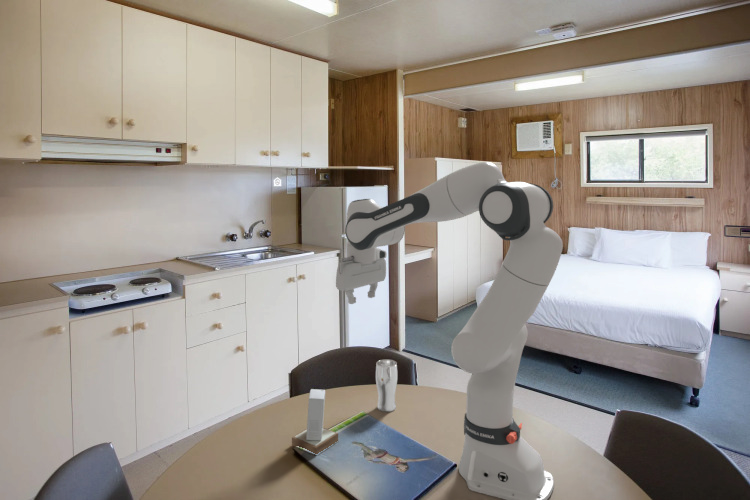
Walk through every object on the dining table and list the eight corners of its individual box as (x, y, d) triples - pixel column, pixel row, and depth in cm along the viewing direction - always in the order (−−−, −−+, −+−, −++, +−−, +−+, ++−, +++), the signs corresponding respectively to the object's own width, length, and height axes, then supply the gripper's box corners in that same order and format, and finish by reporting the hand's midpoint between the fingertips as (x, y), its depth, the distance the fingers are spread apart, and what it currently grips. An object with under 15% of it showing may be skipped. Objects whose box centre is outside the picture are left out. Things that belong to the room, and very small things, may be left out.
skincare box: (307, 428, 132) (310, 388, 130) (322, 429, 132) (325, 389, 131) (305, 440, 126) (308, 398, 124) (321, 441, 126) (324, 399, 125)
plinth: (338, 443, 131) (338, 432, 131) (316, 458, 124) (316, 447, 123) (314, 433, 136) (314, 423, 136) (292, 447, 129) (291, 436, 128)
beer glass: (397, 403, 154) (398, 359, 152) (396, 413, 147) (396, 367, 145) (376, 402, 155) (376, 358, 153) (374, 412, 148) (374, 366, 146)
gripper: (347, 259, 128) (348, 309, 129) (389, 251, 144) (389, 295, 146) (330, 257, 131) (330, 305, 133) (373, 250, 148) (373, 293, 149)
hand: (362, 300), depth 140 cm, fingers open, 8 cm apart
